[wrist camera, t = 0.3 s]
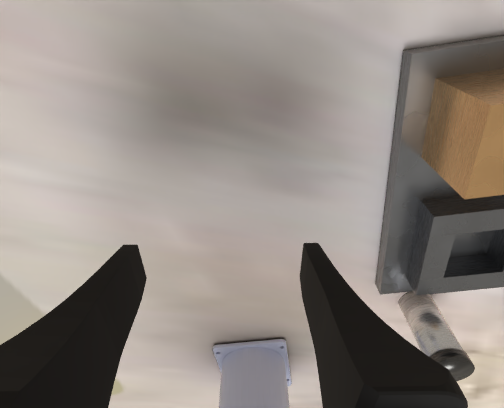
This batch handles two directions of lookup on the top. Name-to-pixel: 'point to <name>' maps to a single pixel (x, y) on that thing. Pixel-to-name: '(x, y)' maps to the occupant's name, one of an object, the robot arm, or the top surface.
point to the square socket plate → (446, 172)
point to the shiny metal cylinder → (435, 334)
